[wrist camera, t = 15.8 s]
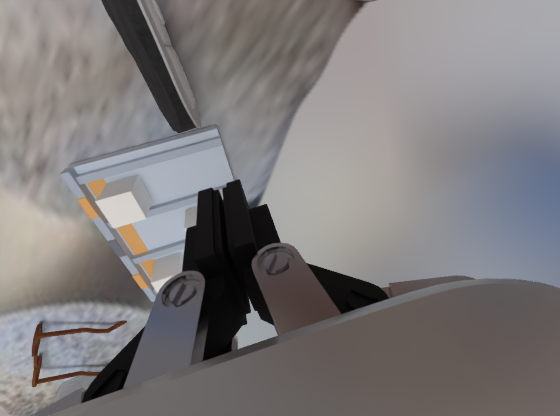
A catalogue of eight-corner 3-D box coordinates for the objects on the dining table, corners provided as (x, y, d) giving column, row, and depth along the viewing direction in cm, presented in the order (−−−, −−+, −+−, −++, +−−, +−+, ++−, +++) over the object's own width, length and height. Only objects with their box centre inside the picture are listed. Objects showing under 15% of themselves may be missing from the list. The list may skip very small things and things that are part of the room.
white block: (180, 251, 43) (178, 273, 38) (189, 269, 45) (188, 291, 41) (155, 259, 42) (150, 283, 38) (165, 277, 44) (162, 300, 40)
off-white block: (212, 201, 40) (213, 219, 35) (220, 222, 42) (223, 241, 38) (185, 209, 39) (184, 228, 35) (195, 230, 41) (195, 250, 37)
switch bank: (216, 124, 36) (217, 132, 33) (257, 252, 49) (261, 265, 46) (71, 163, 34) (58, 175, 31) (154, 286, 47) (151, 302, 44)
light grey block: (138, 174, 35) (130, 191, 31) (152, 199, 37) (146, 218, 33) (107, 182, 34) (94, 201, 30) (122, 208, 37) (113, 228, 32)
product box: (89, 370, 53) (76, 411, 47) (110, 382, 57) (99, 422, 51) (60, 383, 53) (43, 426, 47) (82, 394, 57) (69, 436, 50)
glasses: (40, 316, 45) (24, 343, 41) (127, 318, 50) (121, 343, 46) (39, 364, 50) (25, 393, 46) (119, 362, 55) (112, 387, 51)
